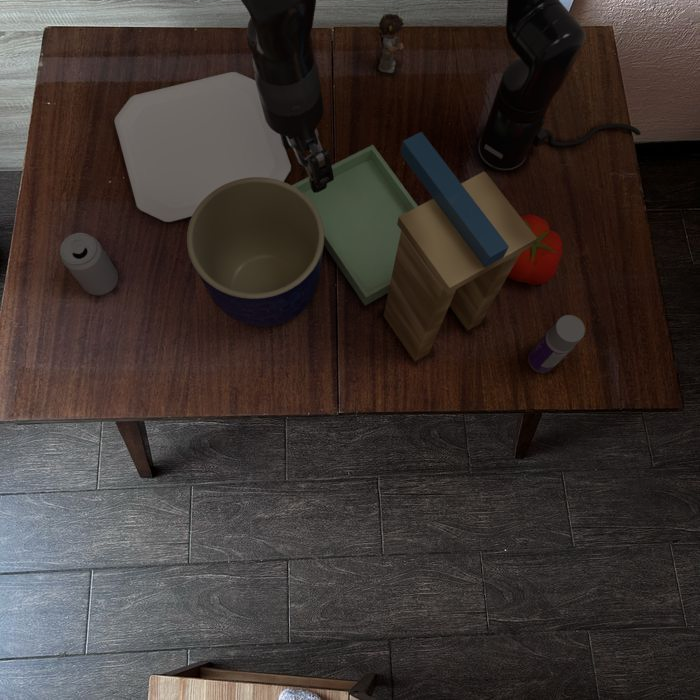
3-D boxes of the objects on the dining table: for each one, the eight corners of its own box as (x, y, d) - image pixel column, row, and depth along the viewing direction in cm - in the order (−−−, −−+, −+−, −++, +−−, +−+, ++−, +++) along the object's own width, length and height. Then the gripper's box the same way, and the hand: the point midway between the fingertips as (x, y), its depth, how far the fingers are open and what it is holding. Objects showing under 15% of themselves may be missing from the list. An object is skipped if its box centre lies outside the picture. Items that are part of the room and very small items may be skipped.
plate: (256, 73, 138) (255, 65, 136) (299, 193, 129) (298, 186, 127) (111, 107, 134) (108, 100, 132) (145, 234, 125) (142, 228, 123)
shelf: (445, 273, 124) (484, 170, 94) (484, 327, 121) (537, 238, 91) (380, 310, 121) (398, 216, 91) (417, 366, 118) (449, 288, 88)
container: (525, 348, 120) (552, 315, 106) (552, 346, 120) (582, 313, 106) (530, 374, 118) (558, 343, 104) (557, 372, 119) (588, 341, 105)
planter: (191, 257, 124) (168, 200, 106) (300, 221, 127) (296, 159, 109) (228, 360, 117) (211, 317, 100) (341, 319, 121) (344, 271, 103)
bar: (418, 144, 95) (421, 131, 92) (503, 257, 90) (509, 246, 87) (400, 154, 95) (402, 140, 92) (484, 268, 89) (490, 257, 86)
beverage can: (90, 303, 120) (65, 272, 109) (77, 273, 122) (51, 239, 111) (125, 288, 121) (104, 256, 110) (111, 258, 123) (90, 224, 112)
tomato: (474, 243, 127) (485, 219, 119) (535, 222, 128) (549, 198, 120) (504, 303, 123) (517, 282, 115) (566, 281, 125) (583, 259, 117)
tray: (371, 156, 132) (373, 144, 129) (447, 259, 125) (450, 250, 122) (291, 196, 129) (290, 185, 125) (364, 305, 122) (365, 297, 118)
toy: (399, 81, 138) (407, 23, 124) (372, 76, 138) (377, 17, 124) (404, 57, 140) (413, -3, 126) (377, 52, 141) (383, -9, 126)
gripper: (345, 116, 82) (352, 191, 97) (288, 35, 86) (304, 119, 101) (289, 145, 81) (305, 216, 96) (235, 61, 85) (258, 142, 100)
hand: (304, 166), depth 99 cm, fingers open, 8 cm apart
